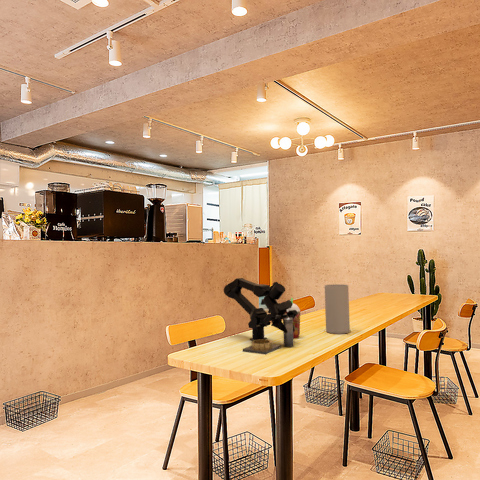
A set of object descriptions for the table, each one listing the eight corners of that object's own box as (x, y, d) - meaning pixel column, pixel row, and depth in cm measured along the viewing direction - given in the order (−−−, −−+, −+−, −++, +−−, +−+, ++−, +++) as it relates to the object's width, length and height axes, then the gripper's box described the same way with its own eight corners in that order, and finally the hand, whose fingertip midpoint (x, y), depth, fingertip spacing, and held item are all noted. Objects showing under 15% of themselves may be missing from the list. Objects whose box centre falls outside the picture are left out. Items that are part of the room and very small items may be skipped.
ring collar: (258, 344, 195) (258, 337, 195) (280, 347, 188) (280, 339, 188) (242, 351, 183) (242, 343, 183) (265, 354, 176) (265, 346, 177)
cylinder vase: (325, 329, 227) (324, 284, 228) (348, 329, 225) (347, 284, 225) (326, 334, 215) (324, 286, 216) (350, 334, 213) (349, 286, 213)
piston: (286, 344, 194) (285, 316, 194) (295, 345, 191) (294, 317, 192) (281, 346, 190) (281, 318, 190) (290, 347, 187) (290, 318, 188)
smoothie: (283, 338, 208) (282, 298, 208) (287, 334, 216) (285, 297, 216) (299, 339, 205) (298, 299, 205) (302, 335, 213) (301, 297, 213)
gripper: (267, 296, 188) (285, 323, 179) (294, 293, 200) (312, 318, 191) (256, 312, 194) (272, 338, 185) (283, 307, 206) (300, 332, 197)
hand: (290, 331), depth 190 cm, fingers closed on piston, 4 cm apart
